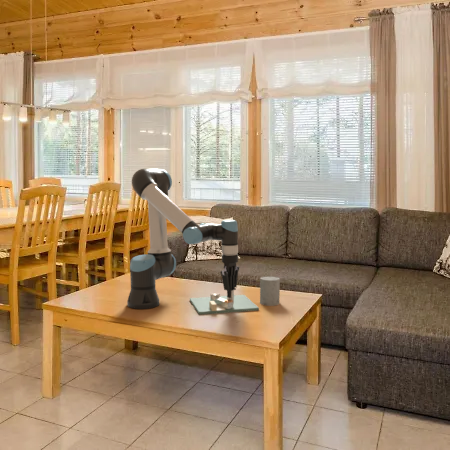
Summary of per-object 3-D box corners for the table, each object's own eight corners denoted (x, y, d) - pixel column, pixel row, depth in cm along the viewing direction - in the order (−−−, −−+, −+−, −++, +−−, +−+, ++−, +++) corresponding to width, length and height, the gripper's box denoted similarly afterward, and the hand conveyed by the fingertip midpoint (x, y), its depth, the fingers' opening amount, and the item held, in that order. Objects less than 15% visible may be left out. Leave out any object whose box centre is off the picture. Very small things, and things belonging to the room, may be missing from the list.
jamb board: (199, 314, 219) (199, 305, 218) (189, 300, 242) (189, 292, 242) (258, 310, 226) (258, 301, 225) (244, 297, 249) (244, 288, 248)
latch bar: (208, 302, 233) (208, 294, 233) (216, 301, 236) (216, 292, 235) (226, 309, 222) (226, 300, 221) (234, 307, 224) (234, 299, 224)
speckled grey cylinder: (265, 306, 232) (265, 281, 231) (256, 301, 241) (256, 276, 239) (283, 304, 236) (283, 279, 234) (273, 299, 244) (274, 275, 243)
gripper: (230, 250, 232) (231, 299, 235) (215, 255, 221) (216, 306, 224) (244, 252, 228) (244, 301, 231) (229, 257, 217) (230, 308, 220)
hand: (230, 303), depth 227 cm, fingers closed
